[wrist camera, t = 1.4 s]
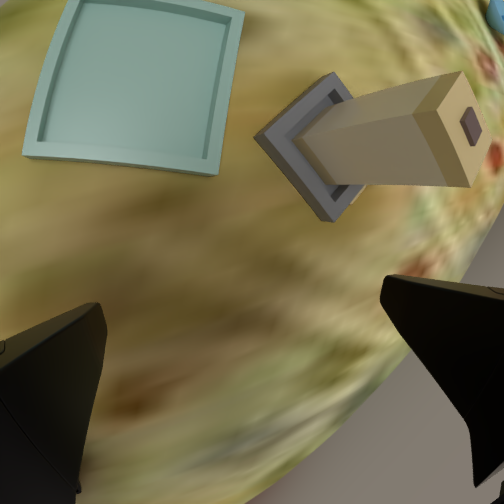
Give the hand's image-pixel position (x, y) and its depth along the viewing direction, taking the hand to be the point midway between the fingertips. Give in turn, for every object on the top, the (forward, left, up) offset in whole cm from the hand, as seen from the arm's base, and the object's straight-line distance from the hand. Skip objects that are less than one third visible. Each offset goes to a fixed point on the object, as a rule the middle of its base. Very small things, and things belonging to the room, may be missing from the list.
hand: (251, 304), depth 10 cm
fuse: (+8, -10, -11) cm, 17 cm away
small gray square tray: (+8, -10, -12) cm, 17 cm away
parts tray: (+10, +4, -12) cm, 16 cm away
